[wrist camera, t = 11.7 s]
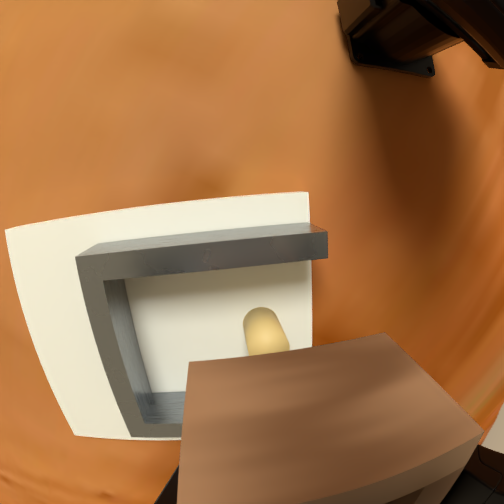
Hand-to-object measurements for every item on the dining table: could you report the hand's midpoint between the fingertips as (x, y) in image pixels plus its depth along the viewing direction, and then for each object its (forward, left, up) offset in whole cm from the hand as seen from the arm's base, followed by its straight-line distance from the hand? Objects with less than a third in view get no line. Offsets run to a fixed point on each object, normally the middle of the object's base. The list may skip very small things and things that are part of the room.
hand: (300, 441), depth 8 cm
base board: (+6, +1, -10) cm, 12 cm away
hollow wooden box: (0, 0, -1) cm, 1 cm away
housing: (+3, 0, -9) cm, 10 cm away
